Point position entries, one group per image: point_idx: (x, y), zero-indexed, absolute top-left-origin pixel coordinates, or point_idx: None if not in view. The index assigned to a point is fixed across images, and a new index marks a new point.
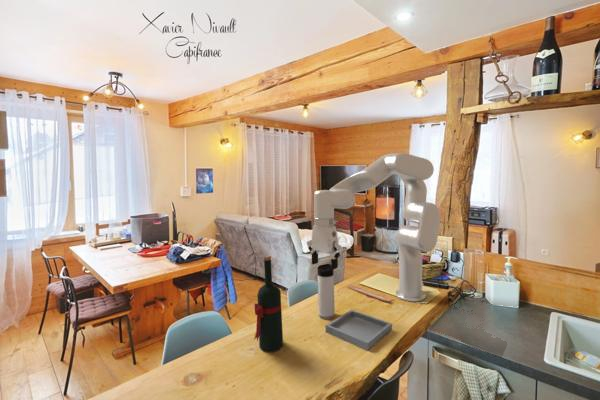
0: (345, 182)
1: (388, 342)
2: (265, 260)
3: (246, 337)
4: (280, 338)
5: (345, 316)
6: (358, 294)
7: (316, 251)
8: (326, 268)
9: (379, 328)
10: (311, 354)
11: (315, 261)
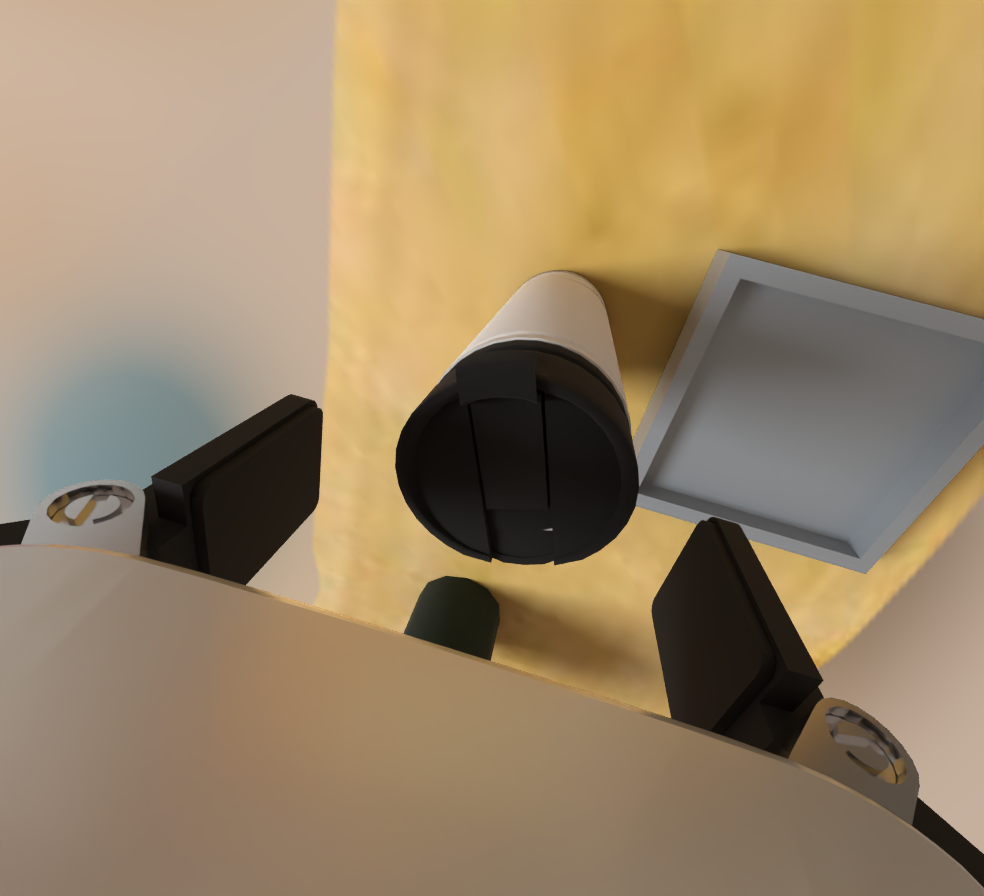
0: None
1: (972, 461)
2: None
3: (355, 593)
4: (492, 642)
5: (700, 356)
6: None
7: (136, 554)
8: (528, 477)
9: (940, 371)
10: (615, 615)
11: (300, 481)
